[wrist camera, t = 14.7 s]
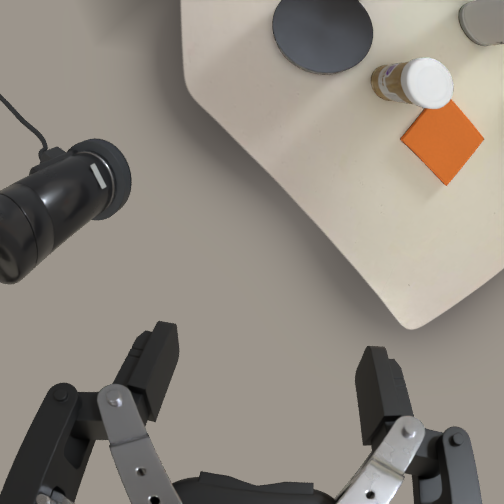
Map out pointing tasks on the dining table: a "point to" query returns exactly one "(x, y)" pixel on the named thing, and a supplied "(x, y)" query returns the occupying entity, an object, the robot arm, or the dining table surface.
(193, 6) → the dining table surface
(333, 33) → the pan
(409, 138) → the orange square coaster
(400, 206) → the dining table surface
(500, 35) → the travel mug
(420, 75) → the sprinkles bottle
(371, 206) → the dining table surface
